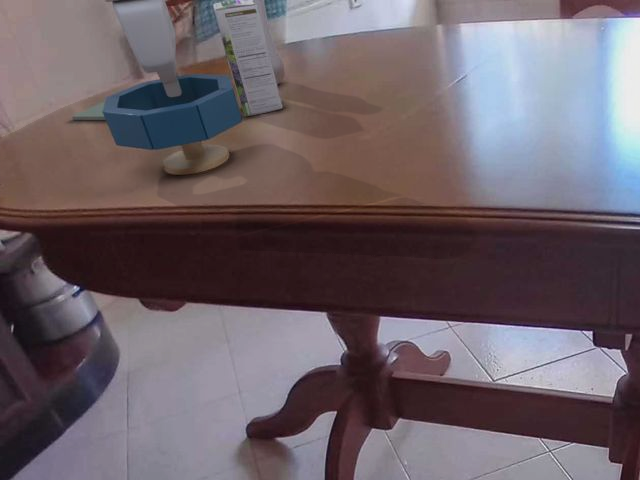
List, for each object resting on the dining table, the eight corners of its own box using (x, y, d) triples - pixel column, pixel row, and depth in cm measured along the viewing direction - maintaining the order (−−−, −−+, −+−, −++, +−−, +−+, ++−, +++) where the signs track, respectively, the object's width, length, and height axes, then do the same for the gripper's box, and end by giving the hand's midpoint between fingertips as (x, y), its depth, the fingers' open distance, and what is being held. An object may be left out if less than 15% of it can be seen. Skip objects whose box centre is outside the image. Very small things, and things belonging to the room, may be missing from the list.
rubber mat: (135, 120, 106) (133, 116, 106) (73, 120, 110) (71, 116, 109) (204, 83, 120) (203, 80, 119) (147, 84, 123) (146, 81, 123)
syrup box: (241, 107, 106) (209, 3, 98) (279, 99, 108) (252, -4, 99) (245, 117, 102) (212, 9, 93) (285, 109, 103) (256, 1, 95)
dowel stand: (164, 180, 85) (145, 131, 81) (165, 159, 91) (147, 112, 87) (231, 165, 87) (215, 117, 83) (227, 145, 93) (212, 99, 89)
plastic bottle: (294, 79, 117) (259, -59, 105) (277, 91, 111) (239, -52, 99) (258, 80, 118) (220, -55, 106) (240, 93, 113) (198, -48, 101)
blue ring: (113, 158, 79) (99, 123, 76) (120, 119, 90) (108, 87, 87) (245, 132, 82) (235, 98, 80) (236, 98, 93) (227, 67, 91)
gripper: (110, -35, 89) (151, 77, 97) (96, -14, 73) (147, 119, 81) (162, -42, 90) (198, 69, 98) (160, -23, 74) (203, 108, 82)
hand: (175, 92), depth 89 cm, fingers closed on blue ring, 2 cm apart
